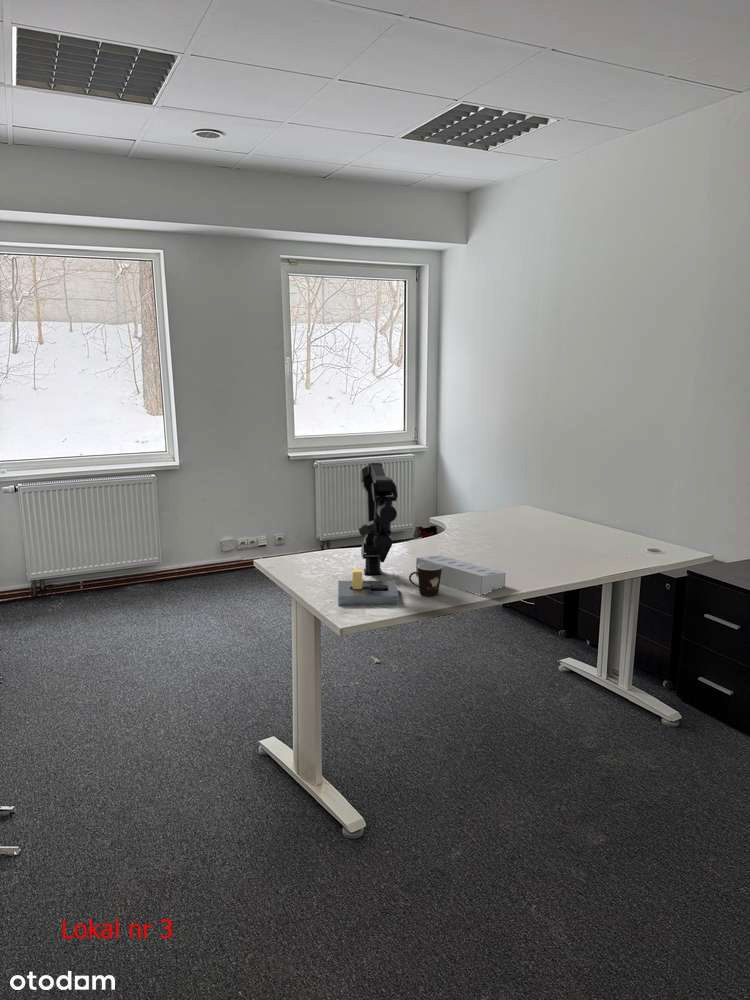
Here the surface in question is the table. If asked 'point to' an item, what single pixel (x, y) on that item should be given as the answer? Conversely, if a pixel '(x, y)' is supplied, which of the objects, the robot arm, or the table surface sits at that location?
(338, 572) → the table surface
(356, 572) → the peg
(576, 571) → the table surface
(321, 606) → the table surface
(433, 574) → the coffee mug
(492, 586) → the white power strip
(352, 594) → the keyhole plate
